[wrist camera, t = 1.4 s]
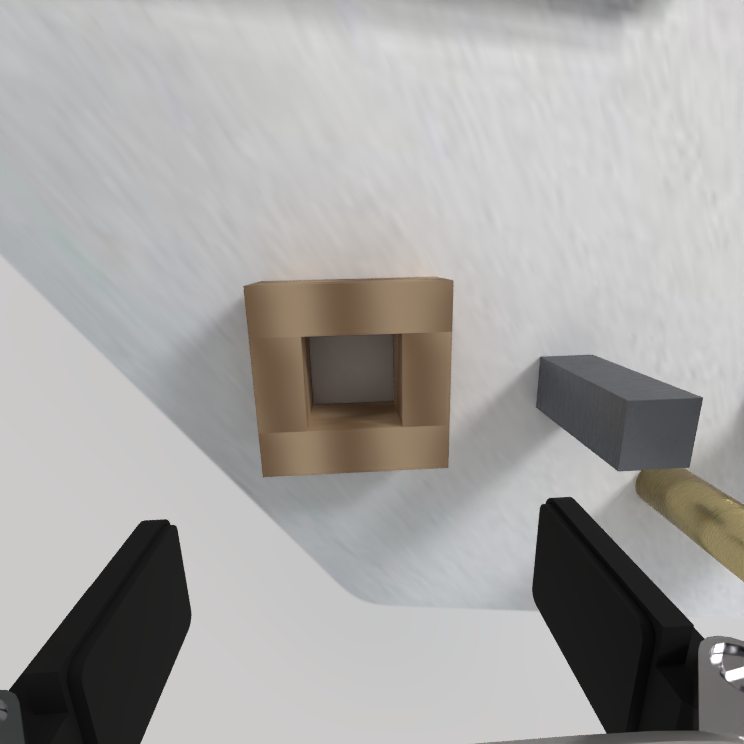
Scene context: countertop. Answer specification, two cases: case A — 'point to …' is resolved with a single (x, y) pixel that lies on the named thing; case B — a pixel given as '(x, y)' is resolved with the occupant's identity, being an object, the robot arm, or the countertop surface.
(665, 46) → the countertop surface
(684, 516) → the round bit
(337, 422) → the bore block
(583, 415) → the square bit
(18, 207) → the countertop surface
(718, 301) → the countertop surface
